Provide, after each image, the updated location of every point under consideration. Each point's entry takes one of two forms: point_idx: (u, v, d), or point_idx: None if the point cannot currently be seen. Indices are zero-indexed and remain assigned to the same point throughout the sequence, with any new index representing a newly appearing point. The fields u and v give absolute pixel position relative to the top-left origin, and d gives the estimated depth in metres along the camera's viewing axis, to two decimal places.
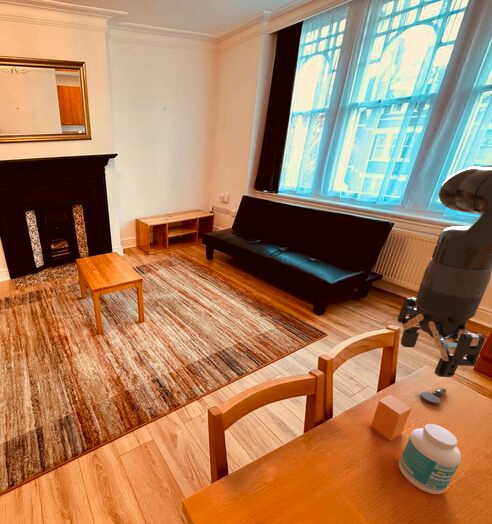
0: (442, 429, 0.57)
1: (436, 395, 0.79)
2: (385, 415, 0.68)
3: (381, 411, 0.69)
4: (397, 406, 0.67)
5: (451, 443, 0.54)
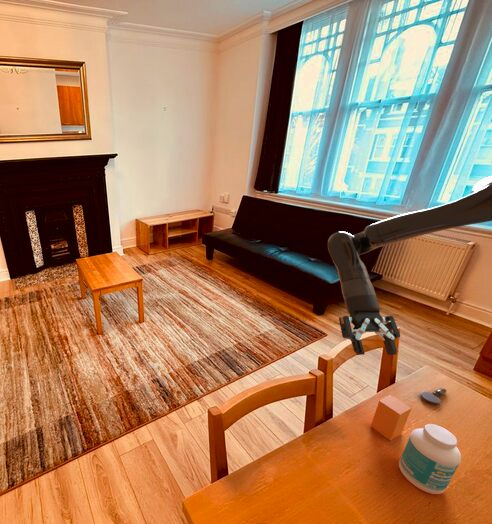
0: (442, 429, 0.57)
1: (436, 395, 0.79)
2: (385, 415, 0.68)
3: (381, 411, 0.69)
4: (397, 406, 0.67)
5: (451, 443, 0.54)
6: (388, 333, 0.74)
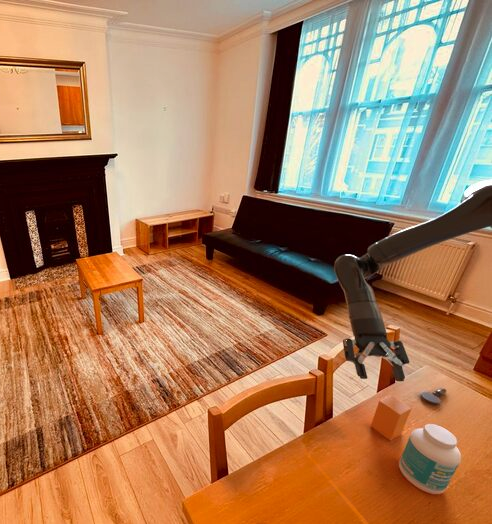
0: (442, 429, 0.57)
1: (436, 395, 0.79)
2: (385, 415, 0.68)
3: (381, 411, 0.69)
4: (397, 406, 0.67)
5: (451, 443, 0.54)
6: (395, 359, 0.73)
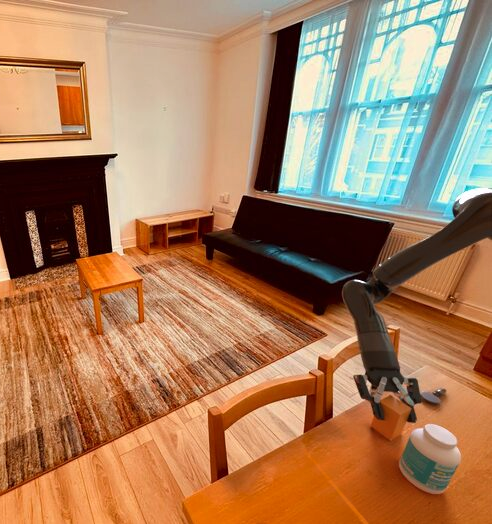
0: (442, 429, 0.57)
1: (436, 395, 0.79)
2: (385, 415, 0.68)
3: None
4: (397, 406, 0.67)
5: (451, 443, 0.54)
6: (407, 397, 0.68)
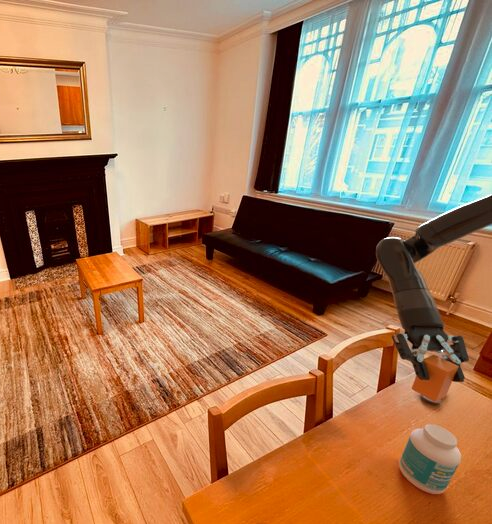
0: (442, 429, 0.57)
1: None
2: (429, 375, 0.64)
3: None
4: (443, 364, 0.62)
5: (451, 443, 0.54)
6: (453, 355, 0.63)
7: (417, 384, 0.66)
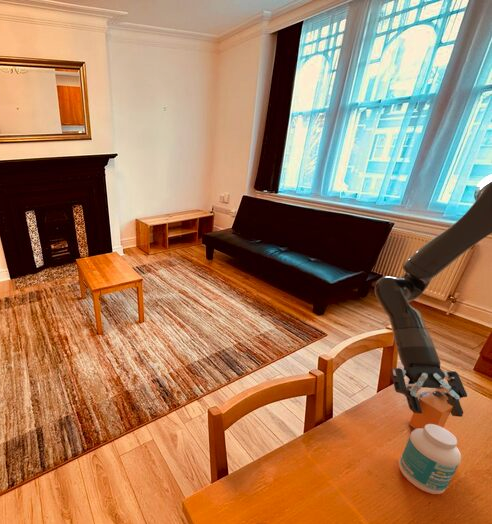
0: (442, 429, 0.57)
1: (436, 395, 0.79)
2: (425, 413, 0.68)
3: (421, 409, 0.69)
4: (439, 404, 0.67)
5: (451, 443, 0.54)
6: (451, 391, 0.68)
7: (414, 421, 0.71)
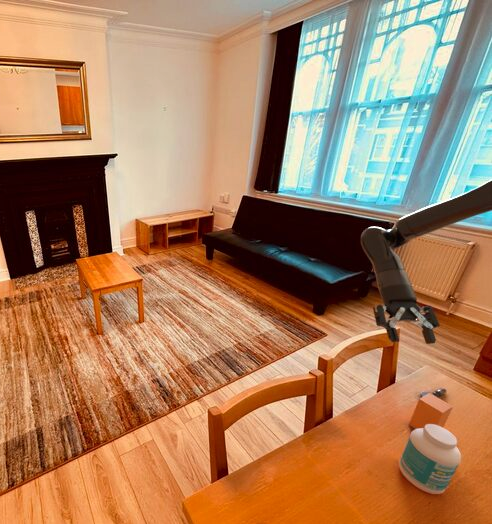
0: (442, 429, 0.57)
1: (436, 395, 0.79)
2: (425, 413, 0.68)
3: (421, 409, 0.69)
4: (438, 404, 0.67)
5: (451, 443, 0.54)
6: (426, 322, 0.76)
7: (414, 421, 0.71)
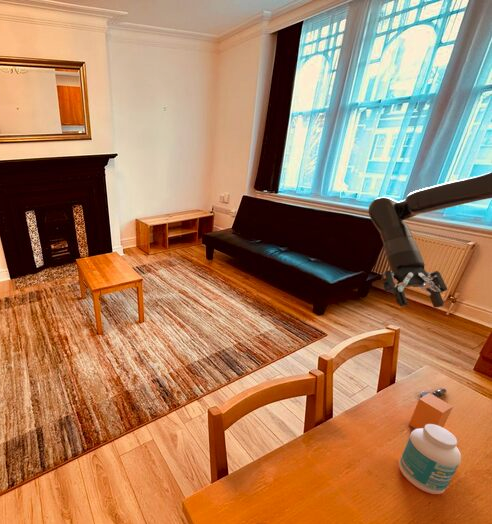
0: (442, 429, 0.57)
1: (436, 395, 0.79)
2: (425, 413, 0.68)
3: (421, 409, 0.69)
4: (438, 404, 0.67)
5: (451, 443, 0.54)
6: (434, 286, 0.77)
7: (414, 421, 0.71)
